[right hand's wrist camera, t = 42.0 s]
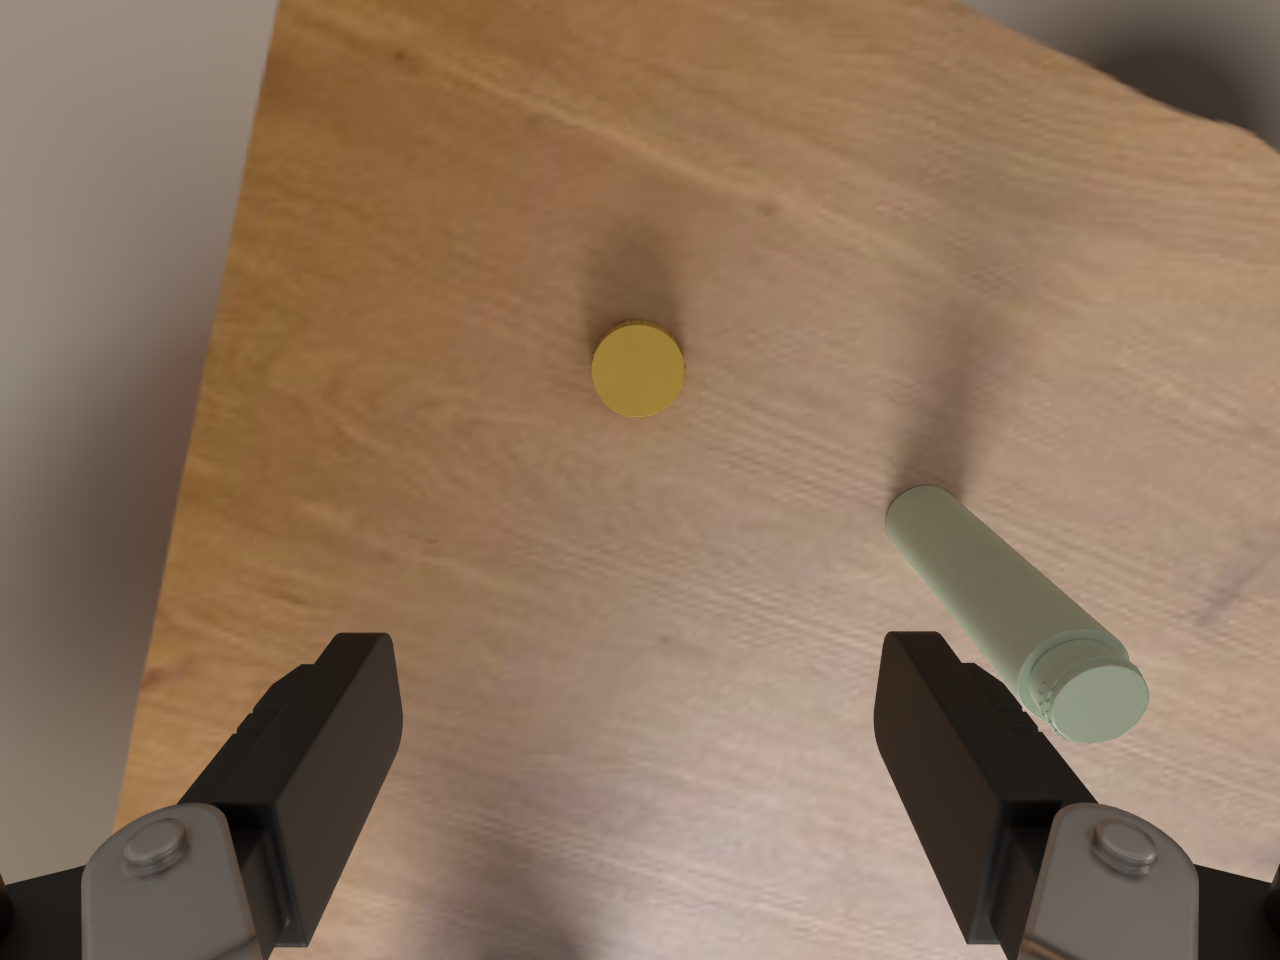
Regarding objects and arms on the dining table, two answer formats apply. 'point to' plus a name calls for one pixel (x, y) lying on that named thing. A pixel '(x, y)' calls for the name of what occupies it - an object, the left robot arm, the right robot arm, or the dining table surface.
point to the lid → (637, 368)
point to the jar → (1020, 620)
